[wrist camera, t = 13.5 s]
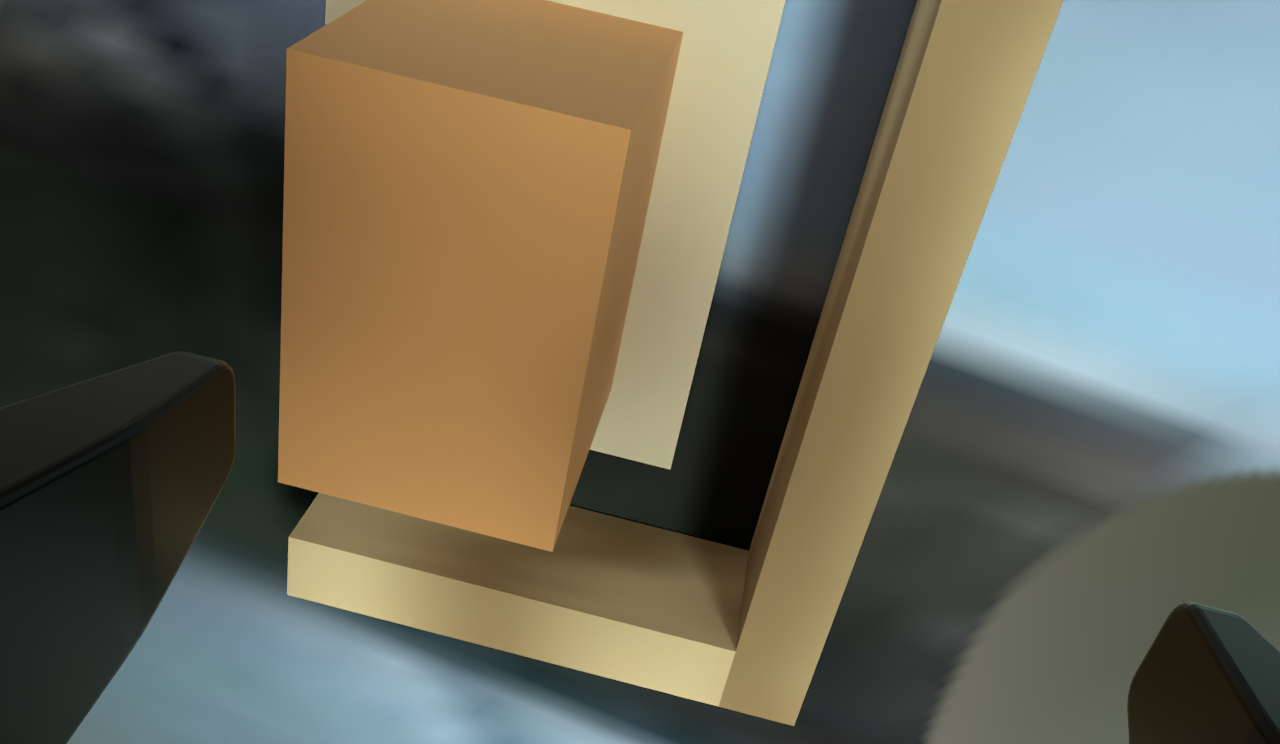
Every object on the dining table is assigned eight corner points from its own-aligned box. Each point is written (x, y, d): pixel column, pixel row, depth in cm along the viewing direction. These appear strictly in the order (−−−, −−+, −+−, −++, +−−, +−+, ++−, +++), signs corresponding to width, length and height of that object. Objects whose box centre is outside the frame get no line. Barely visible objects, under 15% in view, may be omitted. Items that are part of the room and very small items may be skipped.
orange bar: (611, 389, 22) (552, 552, 18) (388, 334, 22) (278, 482, 18) (683, 31, 19) (631, 130, 14) (416, -30, 19) (286, 48, 15)
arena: (1077, -169, 17) (1117, -146, 14) (800, 620, 25) (794, 725, 22) (394, -319, 17) (312, -322, 14) (345, 503, 25) (287, 594, 23)
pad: (796, -45, 18) (795, -42, 18) (672, 461, 23) (670, 469, 23) (339, -150, 18) (331, -147, 18) (317, 372, 24) (311, 379, 23)
